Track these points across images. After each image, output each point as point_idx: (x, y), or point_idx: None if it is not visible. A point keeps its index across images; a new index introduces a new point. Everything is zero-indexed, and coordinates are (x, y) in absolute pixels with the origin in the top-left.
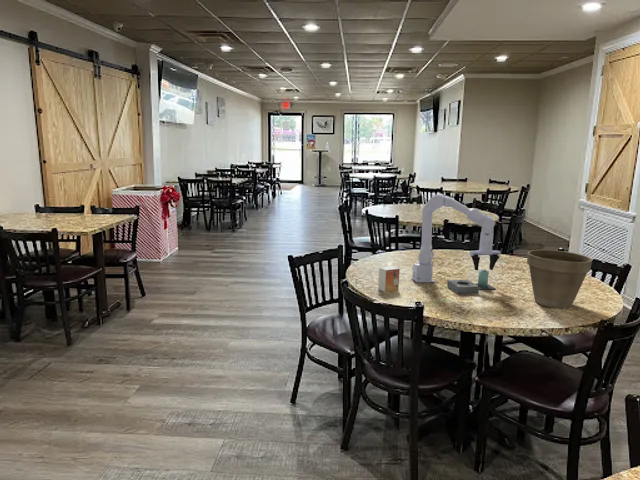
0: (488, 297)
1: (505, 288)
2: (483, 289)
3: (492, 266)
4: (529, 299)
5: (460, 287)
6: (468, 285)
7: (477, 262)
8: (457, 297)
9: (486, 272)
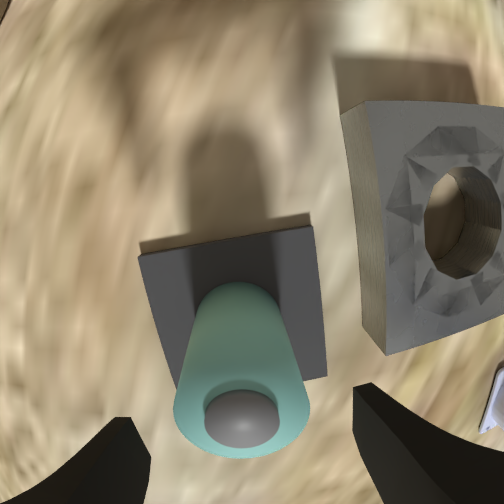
0: (281, 27)
1: (60, 299)
2: (257, 235)
3: (106, 449)
4: (6, 50)
5: (500, 107)
6: (447, 145)
7: (450, 450)
8: (482, 59)
9: (220, 362)
